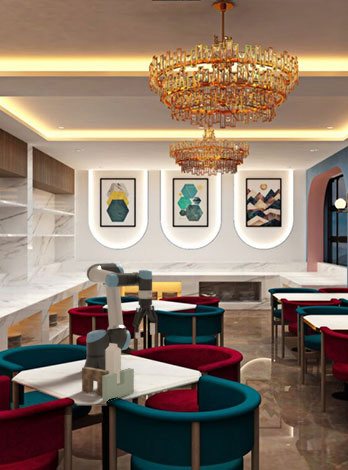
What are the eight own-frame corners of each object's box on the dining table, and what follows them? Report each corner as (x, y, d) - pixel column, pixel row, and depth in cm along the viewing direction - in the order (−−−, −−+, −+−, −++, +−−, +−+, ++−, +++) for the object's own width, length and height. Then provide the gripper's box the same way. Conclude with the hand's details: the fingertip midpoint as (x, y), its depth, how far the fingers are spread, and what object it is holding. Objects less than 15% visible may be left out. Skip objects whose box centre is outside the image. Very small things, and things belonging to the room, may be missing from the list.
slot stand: (106, 401, 262) (106, 376, 262) (102, 400, 263) (102, 375, 264) (133, 392, 278) (133, 368, 278) (129, 391, 280) (129, 368, 280)
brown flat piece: (82, 391, 281) (82, 367, 281) (86, 389, 283) (86, 366, 283) (104, 396, 271) (104, 372, 272) (108, 394, 274) (108, 370, 274)
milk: (113, 382, 298) (113, 342, 299) (121, 383, 295) (121, 343, 295) (105, 384, 293) (105, 343, 294) (113, 386, 290) (113, 344, 290)
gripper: (137, 300, 286) (137, 340, 286) (163, 296, 307) (163, 333, 307) (125, 299, 291) (125, 339, 290) (152, 295, 311) (152, 332, 311)
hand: (145, 336), depth 299 cm, fingers open, 13 cm apart
